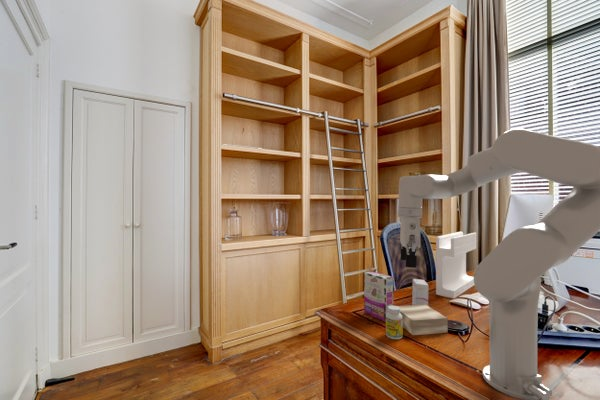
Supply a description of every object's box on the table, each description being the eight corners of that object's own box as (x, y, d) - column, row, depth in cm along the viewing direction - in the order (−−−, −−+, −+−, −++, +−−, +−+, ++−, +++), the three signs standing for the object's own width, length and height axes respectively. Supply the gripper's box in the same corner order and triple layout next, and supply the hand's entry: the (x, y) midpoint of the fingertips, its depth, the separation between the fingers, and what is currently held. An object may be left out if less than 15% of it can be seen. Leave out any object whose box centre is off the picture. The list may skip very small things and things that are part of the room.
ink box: (428, 314, 115) (429, 284, 115) (415, 313, 116) (415, 283, 116) (424, 306, 123) (424, 279, 123) (411, 305, 124) (411, 278, 124)
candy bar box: (394, 319, 109) (394, 276, 109) (385, 322, 107) (385, 278, 107) (372, 310, 119) (372, 270, 119) (363, 312, 116) (363, 272, 116)
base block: (447, 332, 99) (447, 318, 99) (412, 335, 97) (412, 320, 97) (425, 317, 112) (425, 304, 112) (394, 319, 110) (394, 306, 110)
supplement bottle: (403, 334, 97) (403, 306, 97) (400, 341, 92) (401, 311, 92) (387, 331, 100) (387, 303, 100) (384, 337, 95) (384, 308, 95)
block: (460, 280, 163) (460, 231, 163) (476, 283, 157) (476, 232, 157) (436, 294, 139) (436, 236, 139) (453, 298, 133) (454, 238, 133)
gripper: (428, 215, 87) (426, 271, 88) (415, 211, 104) (414, 258, 105) (402, 214, 88) (400, 269, 89) (394, 210, 105) (392, 257, 106)
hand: (407, 263), depth 97 cm, fingers open, 9 cm apart
